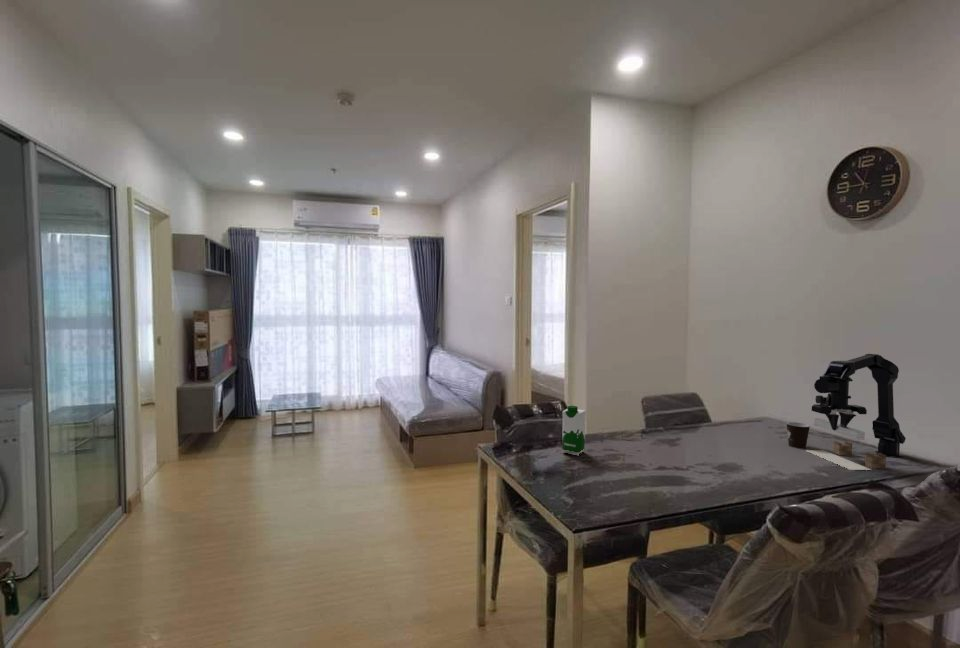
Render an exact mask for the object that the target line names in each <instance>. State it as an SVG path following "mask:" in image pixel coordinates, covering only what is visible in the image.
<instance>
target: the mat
mask: <svg viewBox="0 0 960 648" xmlns="http://www.w3.org/2000/svg"><path fill="white" fill-rule="evenodd" d="M805 452H807V453H809V452H810V454H811V453H812V455H814V456H816V455H817V457H818V456H819V458H822V459H823V458H824V460H825V459H826V461H828V462H830V461H831V462H830V463H832V462H833V464H835V465H837V464H838V466H839V465H840V467H841V468H844V467H845V469H846V468H847V469H846V470H848V471H855V470H866V472H868V471H867V470H871V471H872V468H869V467H867V466H863V465H861V464H859V463H856V462H853V461H852V460H849V459H847V458H843V456H840V455H837V454H834V453H832V452H829V451H827V450H824V449H821V450H820V449H817V450H816V449H813V450H812V449H805Z"/></svg>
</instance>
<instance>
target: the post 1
mask: <svg viewBox="0 0 960 648" xmlns="http://www.w3.org/2000/svg"><path fill="white" fill-rule="evenodd" d="M832 452H833V453H832V454H834V453H835V454H834V455H837V454H838V455H837V456H852V455H853V443H852V442H850V441H846V440H845V441H844V443H841V442H840V441H835V440H834V441H833V451H832Z"/></svg>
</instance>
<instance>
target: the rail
mask: <svg viewBox="0 0 960 648" xmlns="http://www.w3.org/2000/svg"><path fill="white" fill-rule="evenodd" d="M813 426H815V427H819V428H821V429H824V430H826V431H827V430H828V431H830V432H833V433H836V434H839V435H841V436H845V437H848V438H850V439H852V440H853V439H854V440H857V441H859V440H860V441H864V440H865V437H866V432H865V431H862V430H860V429H857V428H853V427H850V426H848V425H847V426H844V425H841V424H840V423H837V427H836V430H832V427H831V424H830V422H829V419H828V420H827V419H825V418H821V417H819V418H814V425H813Z"/></svg>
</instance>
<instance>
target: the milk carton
mask: <svg viewBox="0 0 960 648" xmlns="http://www.w3.org/2000/svg"><path fill="white" fill-rule="evenodd" d="M586 412H587V410H586V409H578V406H575V405H567V408H565V409H564V410H562V432H561V433H562V437H561V438H562V439H561V441H562V442H561V443H562V445H561V446H562V448H561V449H564V450H569V451H574V452H580V451H581V450H583V449H584V450H585V442H586Z"/></svg>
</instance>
